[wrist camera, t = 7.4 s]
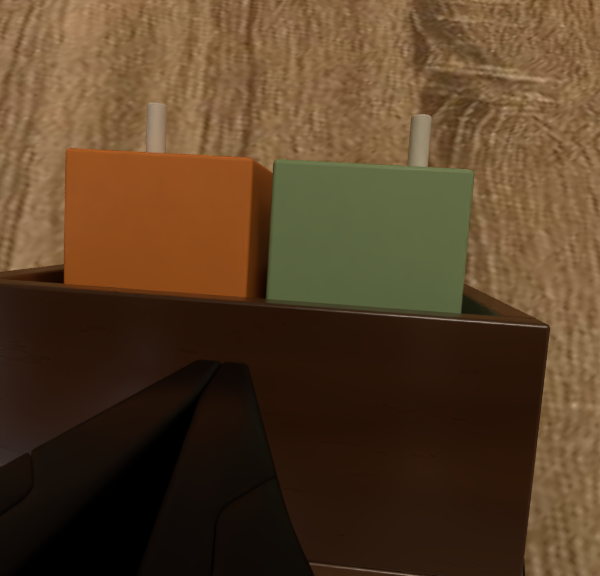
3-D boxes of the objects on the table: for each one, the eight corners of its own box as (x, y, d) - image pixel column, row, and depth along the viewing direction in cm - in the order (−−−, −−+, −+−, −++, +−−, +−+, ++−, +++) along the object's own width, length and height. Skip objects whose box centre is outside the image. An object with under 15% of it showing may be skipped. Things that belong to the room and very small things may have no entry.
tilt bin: (518, 621, 9) (551, 325, 9) (-58, 551, 10) (-60, 278, 10) (447, 453, 16) (464, 282, 16) (109, 420, 17) (113, 257, 17)
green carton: (443, 509, 12) (484, 84, 11) (253, 489, 12) (277, 76, 11) (420, 438, 16) (448, 123, 15) (279, 424, 16) (297, 116, 15)
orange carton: (236, 487, 12) (257, 75, 11) (59, 469, 12) (65, 68, 11) (265, 423, 16) (282, 115, 15) (130, 410, 16) (139, 109, 15)
